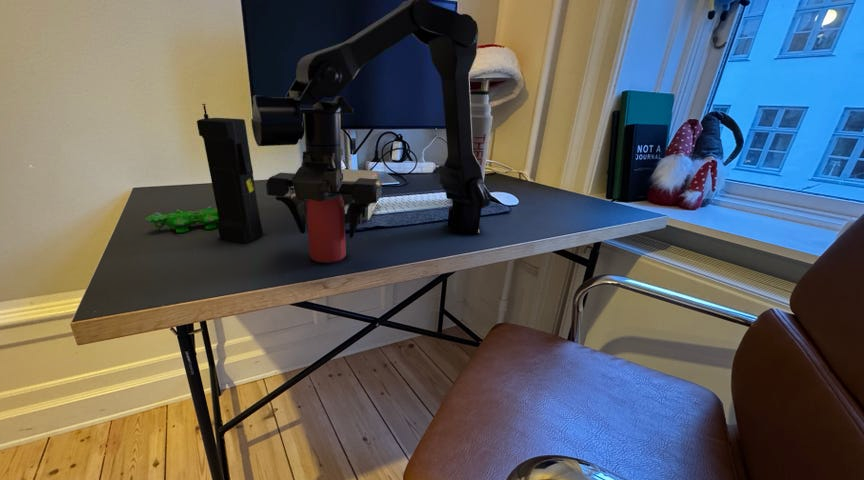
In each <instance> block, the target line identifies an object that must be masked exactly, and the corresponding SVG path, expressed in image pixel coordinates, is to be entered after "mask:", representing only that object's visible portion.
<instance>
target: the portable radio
mask: <svg viewBox="0 0 864 480" xmlns="http://www.w3.org/2000/svg"><path fill="white" fill-rule="evenodd" d="M201 105H202V106H203V107H202V108H203V111H204V112H203V113H204V114H203V118H201V119H198V120H196V125H197V130H198V135H199V137H201V138H202V139H203V145H204V150H205V154H206V160H207V165H208V170H209V176H210V180H211V185H212V191H213V197H214V202H215V207H217V212H218V218H219V221H218V223H216V226H217V231H218V234H219V239H221V240H224V241H230V242H236V243H241V244H245V243H249V242H250V241H253V240H254V239H256V238H259V237H260V236H262V235H263V234H264V232H263V231H264V230H263V226H262V225H263V224H262V220H261V214H260V211H259V210H260V209H259V203H258V197H257V191H256V186H255V178H254V169H253V165H252V159H251V152H250V145H249V140H248V138H249V137H248V131H247V125H246V120H245V119H244V118H230V117H229V118H228V117H209V114H208V113H207V109H206V105H207V104H206V103H202V104H201Z"/></svg>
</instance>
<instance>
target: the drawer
mask: <svg viewBox="0 0 864 480" xmlns="http://www.w3.org/2000/svg"><path fill="white" fill-rule="evenodd" d="M341 197H342V199H343V202H344V209H345V224H350V217H351V208H350V203H351V202H352V201H353V200H354V199H353V198H352V195H350V194H341ZM364 213H365V207H364V209H363V211H362V214H361V216H360V219H359V222H358V224H357V225H361V224H362V223H363V220H362V215H363V214H364Z"/></svg>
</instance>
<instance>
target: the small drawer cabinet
mask: <svg viewBox="0 0 864 480" xmlns="http://www.w3.org/2000/svg"><path fill="white" fill-rule="evenodd" d="M342 173H343V180H342V182H343V183H354V182H355V181H357V180H358V179H359V178H368V179H379V170H366V169H365V170H364V169H349V168H348V169H347V168H342ZM376 203H377V202H376ZM376 203H371V204H370V205H369V206H368V207H365V213H364V214H363V215H362V221H366V222H367V221H369V220H370V219H371V217H372V216H373V214H374V212H375V211H376V210H377V208H378V207H379V202H378V203H377V204H376ZM375 204H376V206H375ZM374 206H375V207H374ZM373 207H374V209H373ZM372 209H373V210H372ZM371 211H372V212H371Z"/></svg>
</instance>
